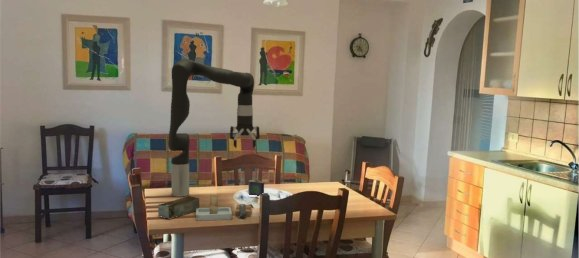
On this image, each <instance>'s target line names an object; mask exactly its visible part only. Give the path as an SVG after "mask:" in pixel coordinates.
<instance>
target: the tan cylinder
mask: <svg viewBox="0 0 579 258" xmlns="http://www.w3.org/2000/svg"><path fill="white" fill-rule="evenodd" d="M209 208H210V214H218V208H219V194H216V193H213V194H210V195H209Z"/></svg>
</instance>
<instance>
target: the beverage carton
mask: <svg viewBox="0 0 579 258" xmlns="http://www.w3.org/2000/svg"><path fill="white" fill-rule="evenodd" d="M157 207H158V211H157V212H158V217H159V216H162V217H165V218H172V217H176V216H179V217H181V216H180V215H182V216H184V215H183V214H185V215H188V214H191V213H194V211H195V212H196V208H200V198H199V197H195V196H190V195H187V196H183V197H181V198H178V199H175V200H170V201H167V202H164V203H159V204H158V205H157ZM187 213H188V214H187ZM162 217H161V218H162ZM165 218H164V219H165ZM176 218H177V217H176ZM172 219H173V218H172Z"/></svg>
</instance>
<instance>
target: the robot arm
mask: <svg viewBox="0 0 579 258" xmlns="http://www.w3.org/2000/svg"><path fill="white" fill-rule="evenodd" d="M192 76H201V77H205V78H206V79H208V80H210V81H212V82H215V83H218V84H224V85H229V86H233V87H234V86H235V87H239V92H238V94H237V108H236V126H232V125H230V131H229V139H230V140H233V147H234V148H235V149H237V147H238V145H237V143H238V141H237V139H238V138H239V137H240V136H249V135H250V137H251V138H252V144H251V145H252V146H251V147H252V148H253V149H255V147H256V146H257V145H256V144H257V143H256V141H257V140H259V139H260V138H261V137H260V127H259V126H258V125H256V126H254V125H253V124H254V122H253V120H254V119H253V116H254V112H253V110H254V107H253V93H254V88H255V77H254V76H253V74H251V73H249V72H241V71H233V70H232V69H231V70H230V69H227V68H220V67H214V66H210V65H207V64H203V63H201V62H197V61H195V60H192V59H189V58H182V59H181V58H180V60H178V61H177V62H176V63H174V64H173V65H172V67H171V85H172V88H171V101H170V102H171V103H170V121H169V123H170V125H169V133H168V141H167V143H168V144H167V145H168V149H169V151H171V152H181V153H180V154H178V155H175V156H173V157H172V158H171V161H170V162H171V164H170V165H171V166H170V167H171V168H170V169H171V196H172V197H177V198H178V197H181V198H183V197H186V196H190V135H189V134H188V133H187V132H185V133H177V132H178V130H179V129H180V127H181V126H182V125H183V124H184V122H185V121H186V120H187V118H188V117H189V114H190V109H191V108H190V105H191V104H190V103H191V102H190V99H189V96H188V93H187V87H188V80H189V78H191V77H192ZM235 130H236V131H237V132H236V134H235V135H234V132H235ZM253 130H254V131H255V133H256V136H255V135H254V134H253ZM233 135H234V136H233Z"/></svg>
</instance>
